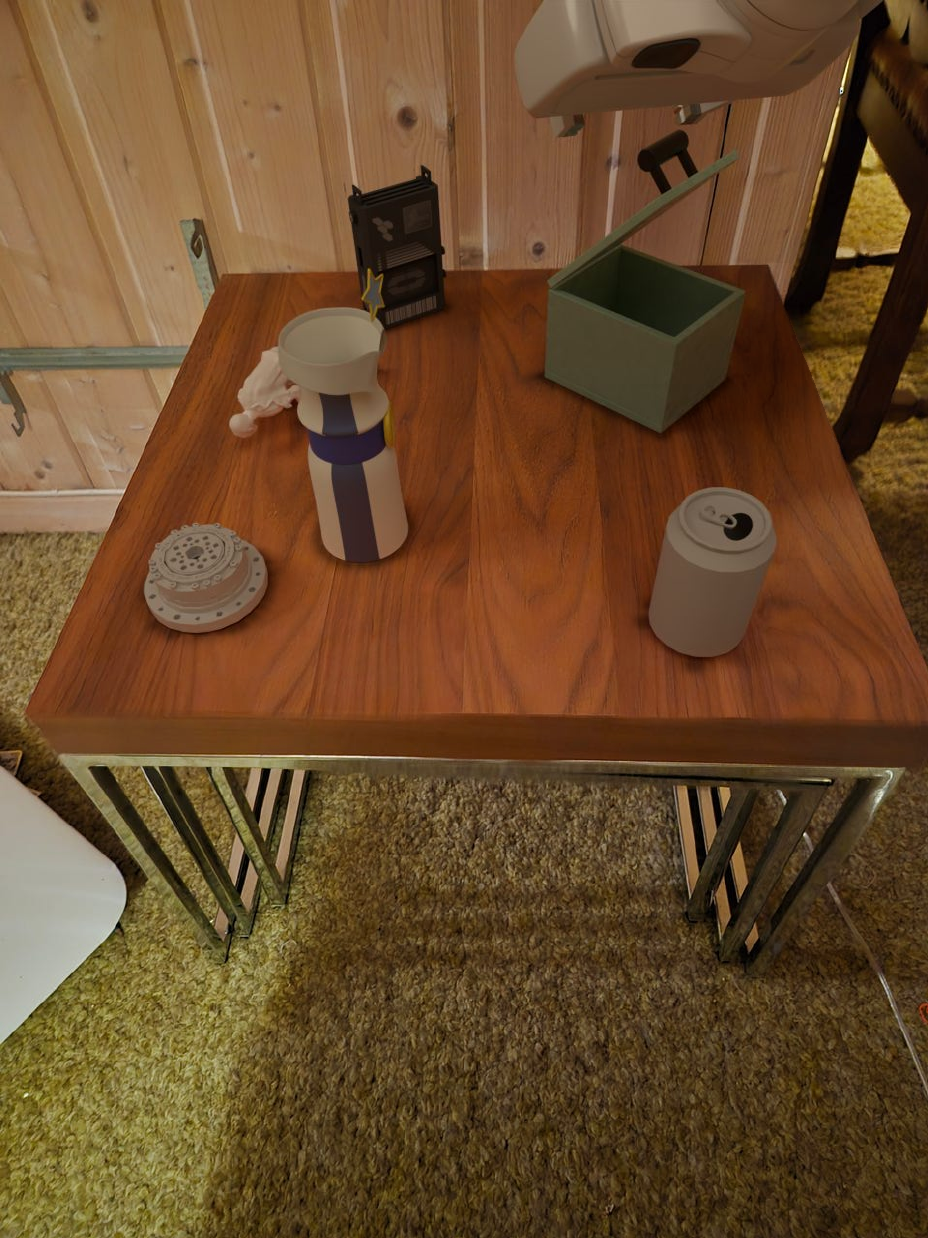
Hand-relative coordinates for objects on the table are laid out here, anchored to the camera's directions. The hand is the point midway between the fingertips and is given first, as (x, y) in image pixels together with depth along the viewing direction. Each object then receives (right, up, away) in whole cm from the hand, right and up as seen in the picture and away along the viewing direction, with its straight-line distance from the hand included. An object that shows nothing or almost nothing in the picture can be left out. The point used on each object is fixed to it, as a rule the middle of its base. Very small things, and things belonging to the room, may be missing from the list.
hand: (623, 119), depth 56 cm
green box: (+7, -9, +31) cm, 33 cm away
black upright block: (-18, +2, +41) cm, 45 cm away
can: (+8, -34, +10) cm, 36 cm away
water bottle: (-19, -26, +18) cm, 37 cm away
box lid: (+5, +2, +20) cm, 21 cm away
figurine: (-28, -12, +30) cm, 42 cm away
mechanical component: (-32, -31, +14) cm, 47 cm away
